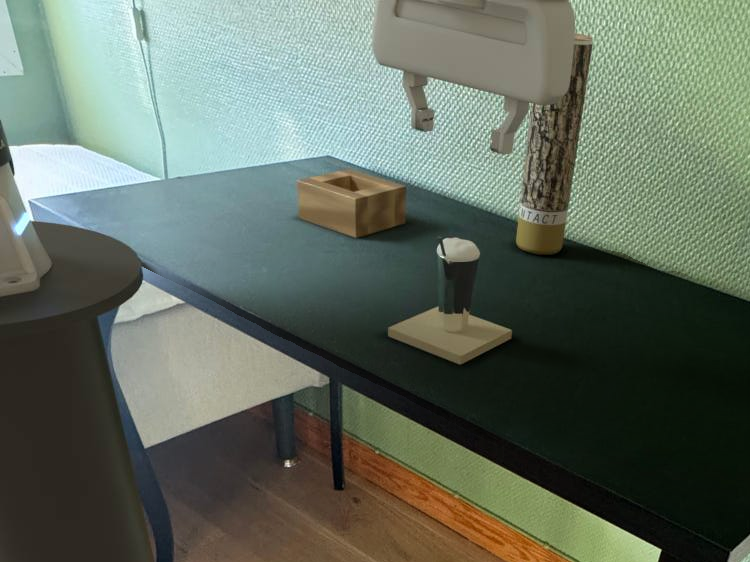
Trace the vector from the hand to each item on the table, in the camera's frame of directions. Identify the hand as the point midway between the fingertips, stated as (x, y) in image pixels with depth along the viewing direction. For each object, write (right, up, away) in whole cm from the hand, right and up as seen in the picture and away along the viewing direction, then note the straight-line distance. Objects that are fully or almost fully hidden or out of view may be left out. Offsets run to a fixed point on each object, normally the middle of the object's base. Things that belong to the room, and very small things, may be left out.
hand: (460, 141), depth 77 cm
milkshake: (-1, -13, +13) cm, 18 cm away
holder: (-17, +14, +41) cm, 46 cm away
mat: (-2, -14, +13) cm, 19 cm away
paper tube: (+10, +9, +39) cm, 41 cm away
